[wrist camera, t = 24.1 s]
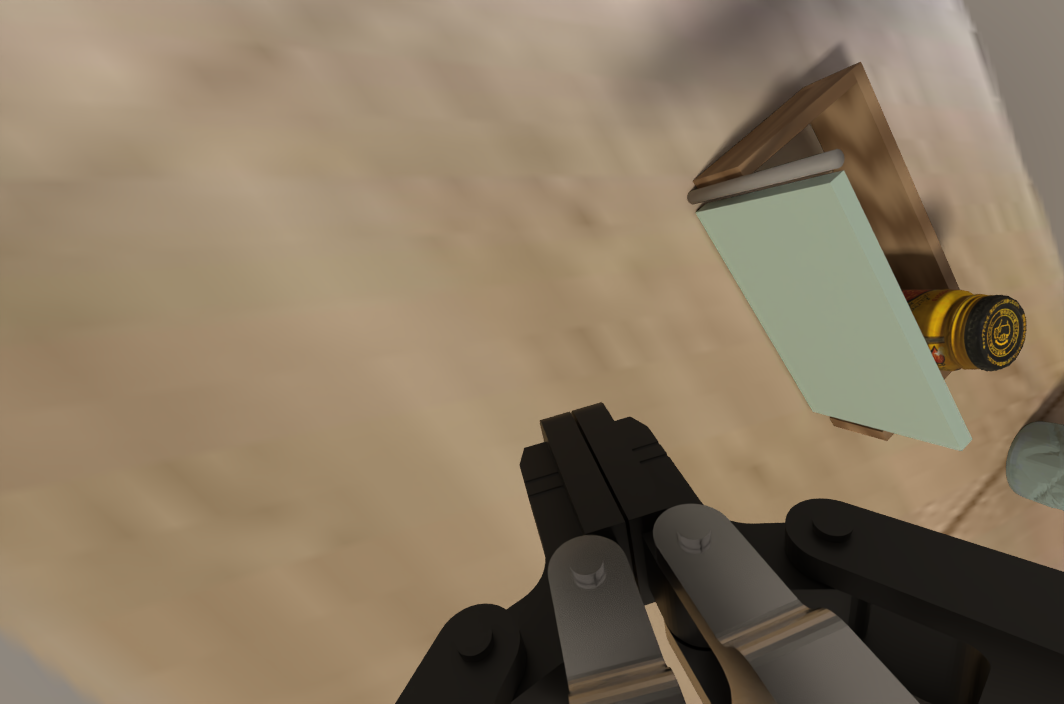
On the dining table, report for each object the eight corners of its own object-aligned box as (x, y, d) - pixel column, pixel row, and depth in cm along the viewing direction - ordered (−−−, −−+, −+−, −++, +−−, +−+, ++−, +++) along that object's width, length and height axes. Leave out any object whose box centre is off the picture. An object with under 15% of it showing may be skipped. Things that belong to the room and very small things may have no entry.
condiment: (852, 268, 46) (1013, 261, 35) (895, 334, 49) (1059, 348, 38) (802, 328, 45) (952, 341, 34) (849, 392, 48) (1003, 424, 36)
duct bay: (692, 180, 40) (738, 166, 35) (804, 86, 42) (860, 61, 38) (834, 425, 47) (887, 440, 43) (922, 334, 50) (981, 339, 45)
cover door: (684, 196, 40) (826, 156, 28) (695, 187, 40) (840, 144, 28) (810, 411, 46) (969, 453, 34) (819, 402, 47) (980, 441, 35)
